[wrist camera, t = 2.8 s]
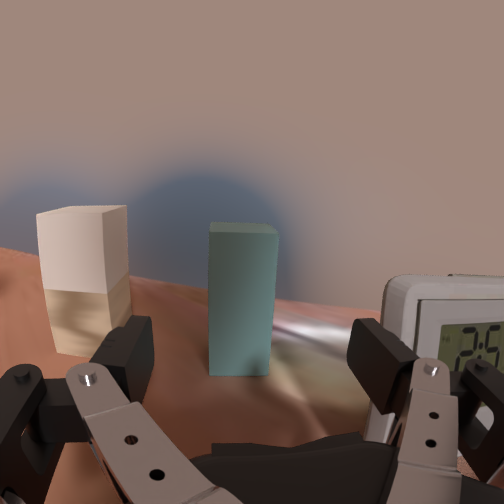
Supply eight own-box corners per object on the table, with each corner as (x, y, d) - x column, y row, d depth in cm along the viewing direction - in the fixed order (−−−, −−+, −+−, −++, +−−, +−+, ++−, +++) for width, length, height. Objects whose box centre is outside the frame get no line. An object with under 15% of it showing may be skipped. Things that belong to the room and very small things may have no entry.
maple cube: (133, 328, 28) (128, 270, 27) (117, 361, 22) (107, 293, 21) (81, 323, 27) (73, 268, 26) (57, 352, 22) (43, 288, 20)
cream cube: (128, 270, 27) (126, 205, 25) (107, 293, 21) (102, 213, 20) (73, 268, 26) (69, 206, 25) (43, 288, 20) (36, 214, 19)
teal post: (260, 346, 27) (268, 223, 24) (267, 375, 22) (279, 233, 20) (210, 346, 26) (211, 221, 24) (209, 375, 22) (209, 231, 19)
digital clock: (343, 480, 12) (403, 303, 10) (348, 388, 21) (375, 250, 18) (551, 456, 8) (623, 315, 6) (514, 389, 17) (555, 273, 14)
